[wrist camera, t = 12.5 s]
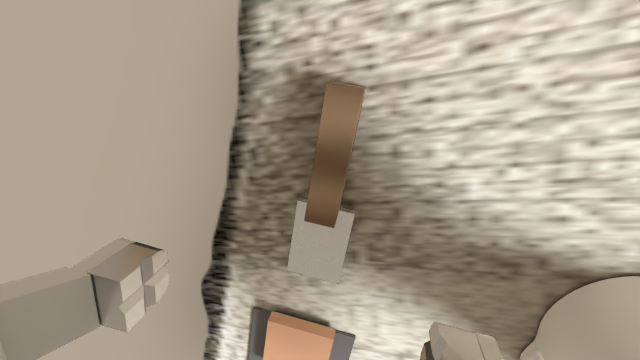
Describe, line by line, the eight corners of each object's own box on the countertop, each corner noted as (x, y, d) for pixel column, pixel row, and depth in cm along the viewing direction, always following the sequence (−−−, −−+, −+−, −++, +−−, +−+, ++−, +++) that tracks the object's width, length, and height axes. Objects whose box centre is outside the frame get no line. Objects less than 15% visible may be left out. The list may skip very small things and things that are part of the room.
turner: (317, 78, 26) (305, 79, 22) (384, 90, 26) (384, 94, 22) (289, 266, 34) (276, 292, 30) (339, 279, 34) (333, 308, 30)
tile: (267, 320, 35) (261, 371, 38) (333, 339, 34) (321, 389, 37) (273, 309, 37) (266, 358, 40) (336, 327, 36) (323, 376, 39)
